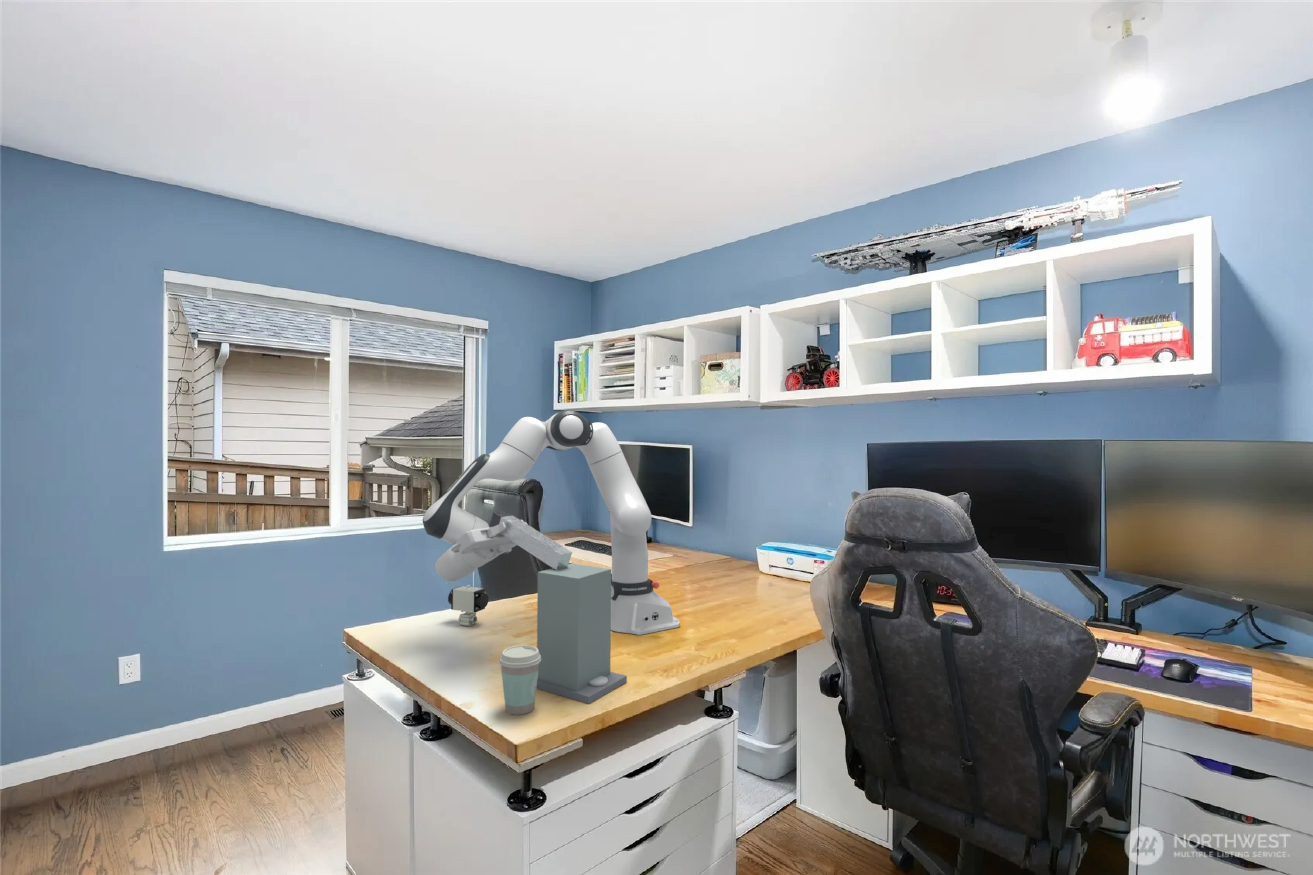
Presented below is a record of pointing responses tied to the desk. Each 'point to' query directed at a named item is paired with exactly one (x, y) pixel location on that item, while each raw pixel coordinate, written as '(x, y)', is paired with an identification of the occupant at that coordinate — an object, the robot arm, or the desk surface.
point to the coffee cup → (520, 678)
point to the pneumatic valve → (468, 602)
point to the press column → (575, 633)
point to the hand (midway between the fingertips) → (513, 523)
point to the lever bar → (532, 541)
